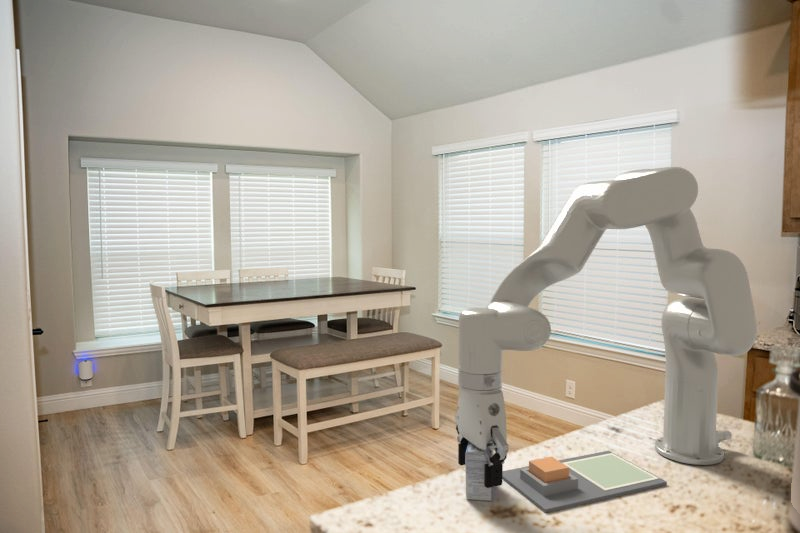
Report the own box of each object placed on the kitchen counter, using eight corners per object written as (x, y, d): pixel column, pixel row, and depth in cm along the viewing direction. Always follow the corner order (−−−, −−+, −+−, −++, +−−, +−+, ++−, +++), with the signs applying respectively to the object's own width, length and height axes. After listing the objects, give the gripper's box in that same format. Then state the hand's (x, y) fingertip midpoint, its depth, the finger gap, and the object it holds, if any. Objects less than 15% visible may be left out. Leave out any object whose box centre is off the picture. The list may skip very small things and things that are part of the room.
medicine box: (491, 502, 100) (491, 453, 99) (465, 500, 101) (465, 451, 100) (493, 481, 107) (493, 435, 107) (469, 479, 108) (469, 434, 108)
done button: (551, 469, 108) (552, 456, 108) (568, 480, 104) (569, 467, 103) (528, 473, 106) (528, 461, 106) (545, 485, 102) (545, 472, 102)
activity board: (608, 453, 119) (609, 442, 119) (666, 484, 105) (667, 472, 105) (497, 475, 110) (497, 462, 110) (545, 512, 96) (545, 498, 96)
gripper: (526, 390, 96) (525, 492, 97) (475, 365, 112) (474, 452, 113) (486, 396, 93) (485, 500, 94) (439, 369, 109) (439, 458, 110)
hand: (479, 474), depth 104 cm, fingers closed on medicine box, 9 cm apart
